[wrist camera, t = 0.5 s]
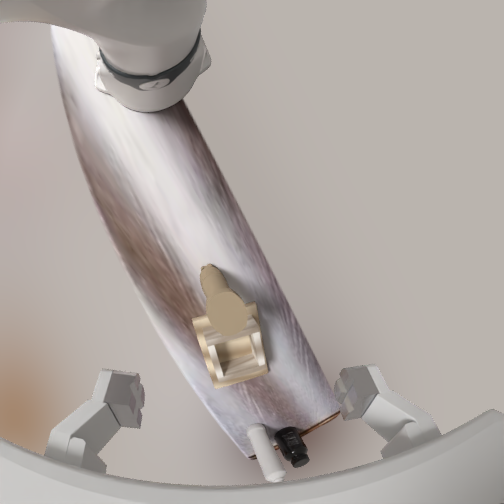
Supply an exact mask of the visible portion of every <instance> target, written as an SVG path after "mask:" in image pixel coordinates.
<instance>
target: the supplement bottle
mask: <svg viewBox="0 0 504 504" xmlns="http://www.w3.org/2000/svg"><path fill="white" fill-rule="evenodd" d="M275 441H276V443H277V445H278V447H279V449H280V450H281V452H282V454H283V456H284V458H285V459H286V460H287V461H291V464H292V465H293V467H295V468H297V467H301V466H304V465H305V464H307V463H308V462H309V458H308V455H307V450H308V449H307V447H306V445H305V444H304V442H303V440H302V438H301V437H300V435H299V433H298V432H297V430H296V429H295V428H293V427H287V428H284V429H282V430H280V431H278V432H277V433H276V435H275Z"/></svg>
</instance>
